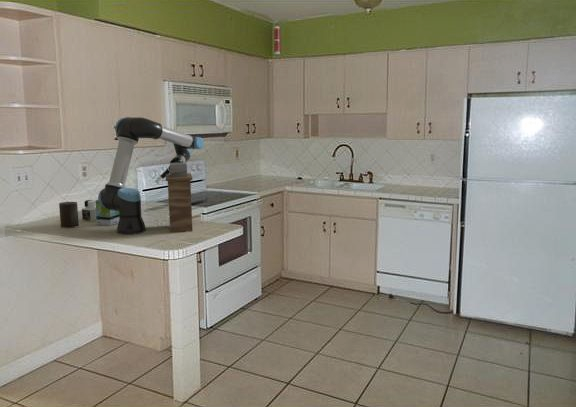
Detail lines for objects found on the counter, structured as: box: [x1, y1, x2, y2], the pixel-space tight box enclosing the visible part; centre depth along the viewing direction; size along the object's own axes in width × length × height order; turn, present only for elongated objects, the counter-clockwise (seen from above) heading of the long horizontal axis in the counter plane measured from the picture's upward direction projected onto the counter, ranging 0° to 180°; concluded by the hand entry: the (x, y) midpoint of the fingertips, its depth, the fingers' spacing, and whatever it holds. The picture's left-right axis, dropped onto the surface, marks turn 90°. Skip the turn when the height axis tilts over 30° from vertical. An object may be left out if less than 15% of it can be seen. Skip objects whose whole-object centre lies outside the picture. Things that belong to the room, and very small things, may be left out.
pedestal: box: [165, 172, 193, 233], centre depth 277 cm, size 19×14×30 cm
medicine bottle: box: [81, 199, 96, 222], centre depth 302 cm, size 7×7×12 cm
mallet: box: [169, 162, 188, 177], centre depth 281 cm, size 25×9×7 cm, turn 13°
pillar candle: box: [58, 201, 80, 229], centre depth 286 cm, size 10×10×15 cm
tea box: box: [94, 199, 119, 227], centre depth 294 cm, size 15×10×15 cm
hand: (164, 176), depth 294 cm, fingers open, 13 cm apart
